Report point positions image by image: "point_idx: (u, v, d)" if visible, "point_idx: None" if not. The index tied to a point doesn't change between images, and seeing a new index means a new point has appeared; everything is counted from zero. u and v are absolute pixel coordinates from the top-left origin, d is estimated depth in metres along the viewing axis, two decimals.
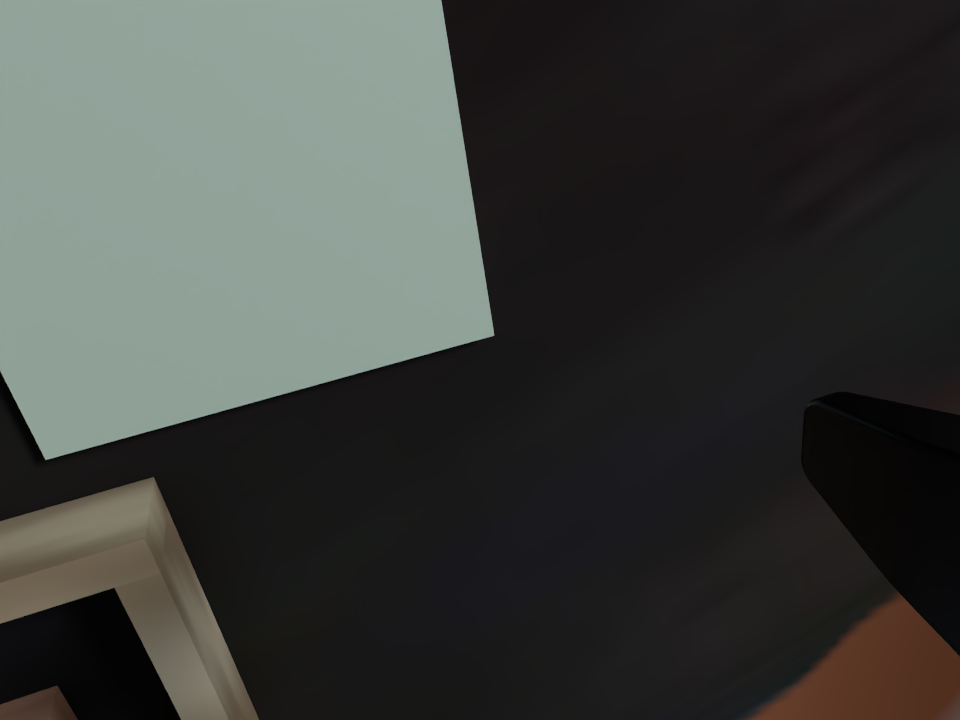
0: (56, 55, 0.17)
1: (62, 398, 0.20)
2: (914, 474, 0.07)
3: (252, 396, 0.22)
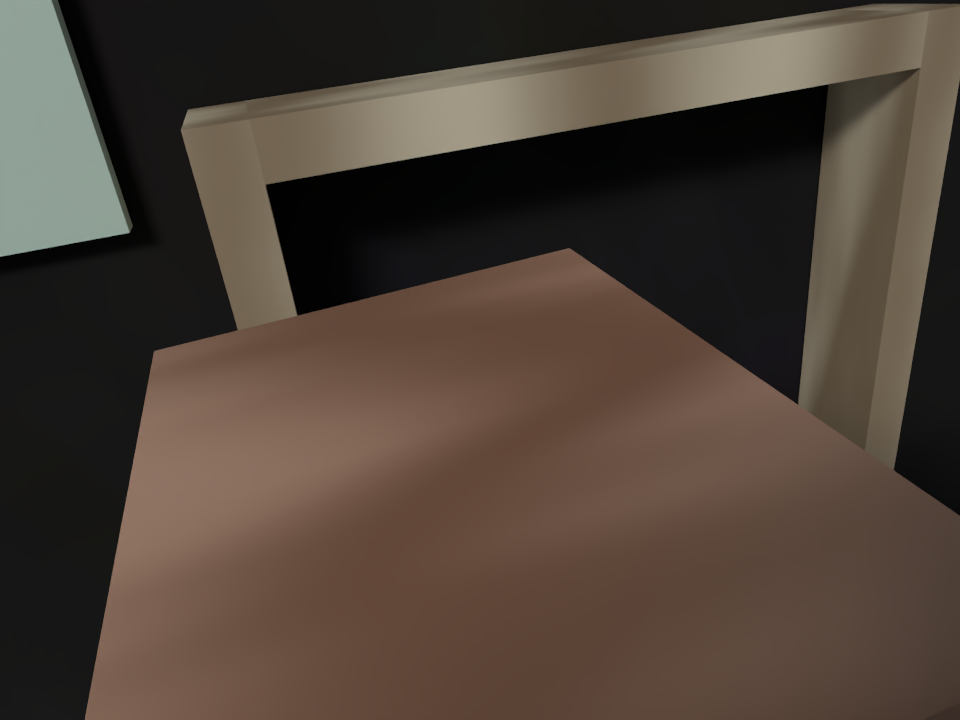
0: None
1: (28, 197, 0.15)
2: None
3: None
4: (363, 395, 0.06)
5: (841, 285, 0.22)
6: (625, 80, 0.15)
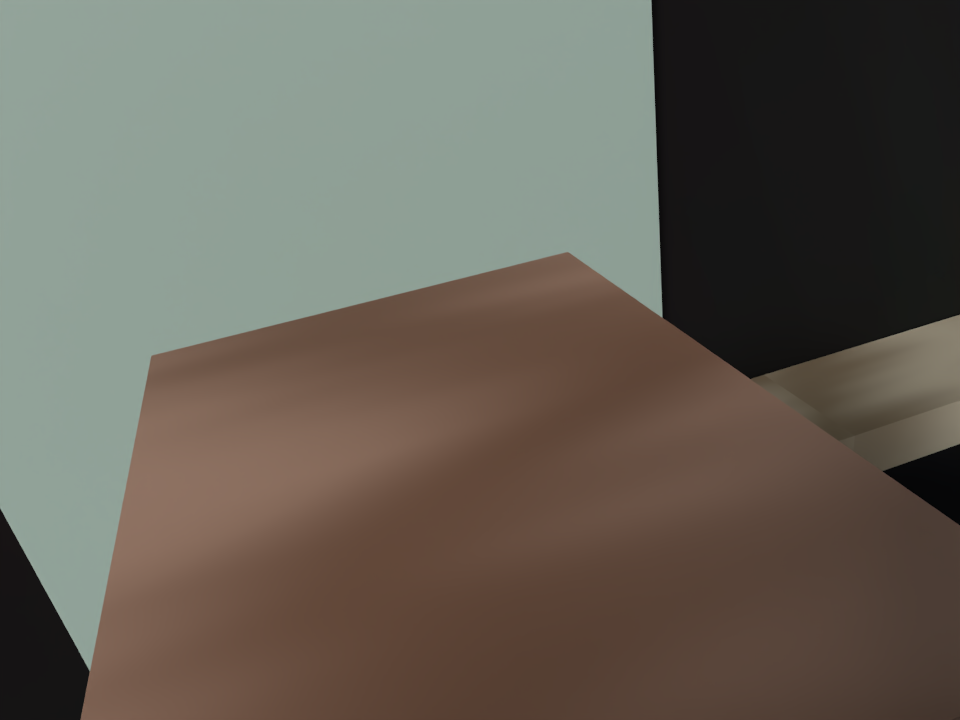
0: None
1: None
2: None
3: (652, 281, 0.15)
4: (360, 400, 0.06)
5: None
6: None
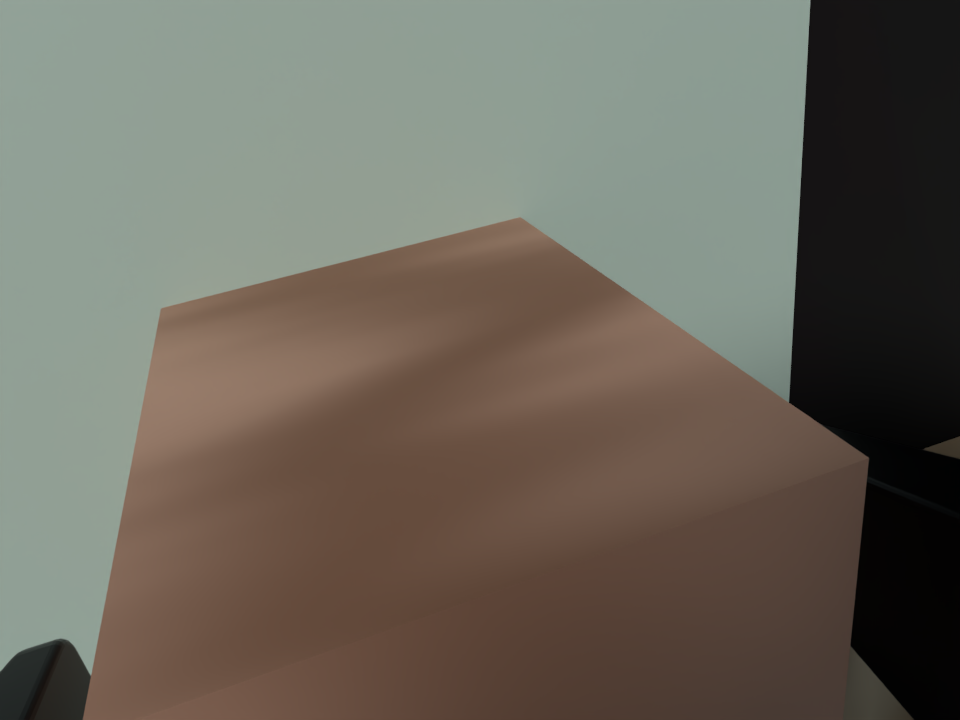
0: None
1: None
2: None
3: (781, 358, 0.12)
4: (335, 333, 0.07)
5: None
6: None
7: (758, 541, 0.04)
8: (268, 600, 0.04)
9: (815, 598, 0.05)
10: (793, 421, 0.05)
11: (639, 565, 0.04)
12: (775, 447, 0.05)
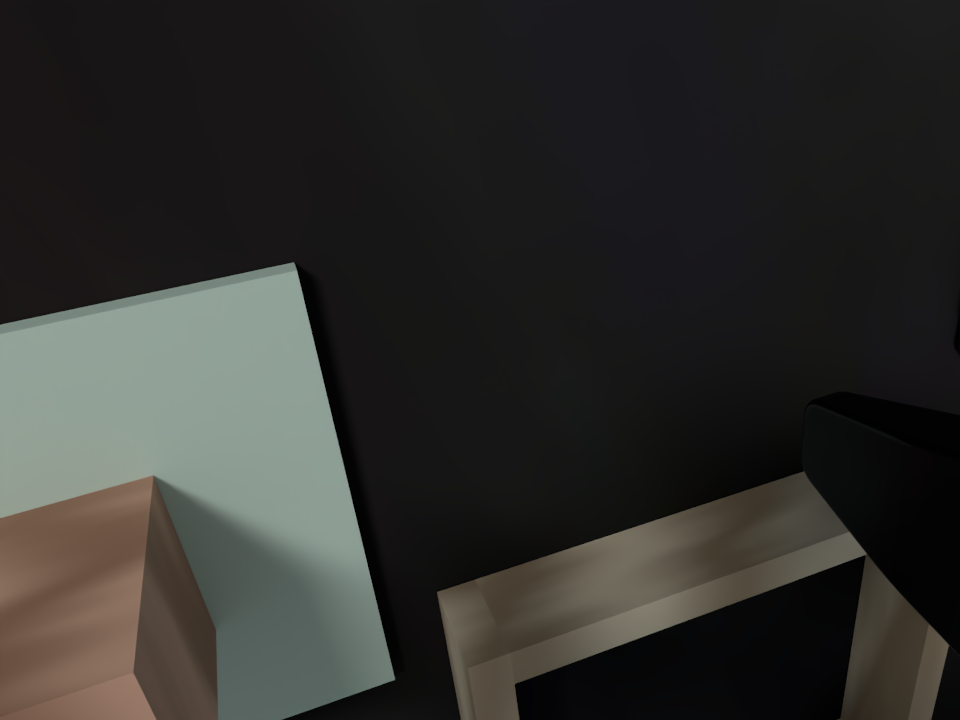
0: None
1: (333, 673, 0.22)
2: (914, 474, 0.07)
3: (352, 533, 0.20)
4: (6, 570, 0.15)
5: (885, 622, 0.28)
6: (751, 577, 0.22)
7: (91, 703, 0.12)
8: None
9: None
10: (128, 650, 0.13)
11: (35, 714, 0.12)
12: (110, 664, 0.12)
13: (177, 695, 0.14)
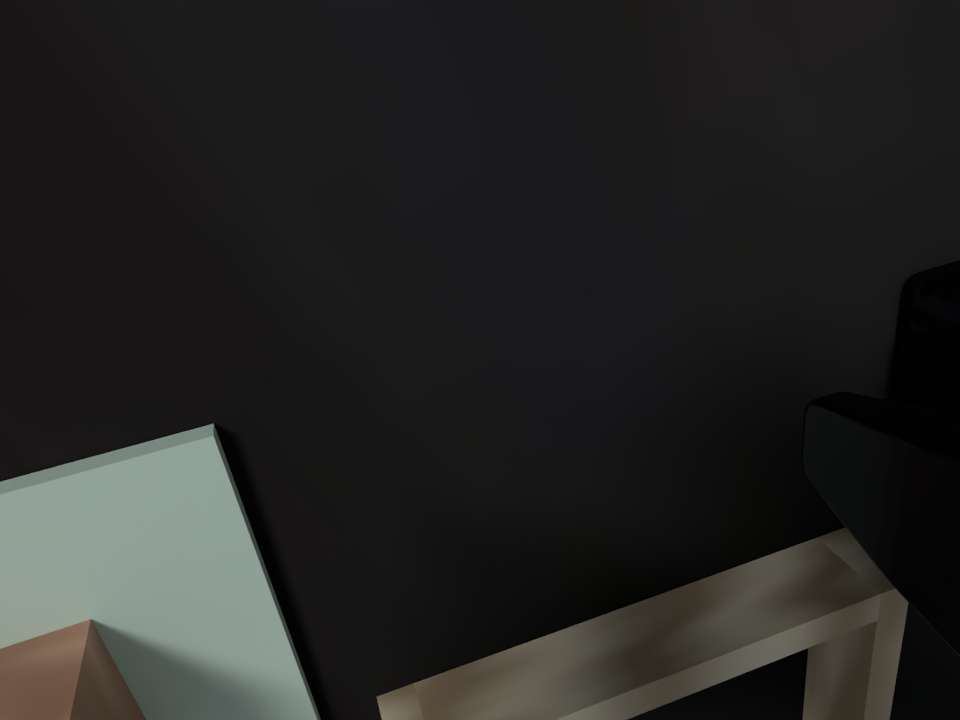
0: None
1: None
2: (914, 473, 0.07)
3: (286, 655, 0.21)
4: None
5: (828, 701, 0.29)
6: (674, 682, 0.23)
7: None
8: None
9: None
10: None
11: None
12: None
13: None
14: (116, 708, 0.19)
